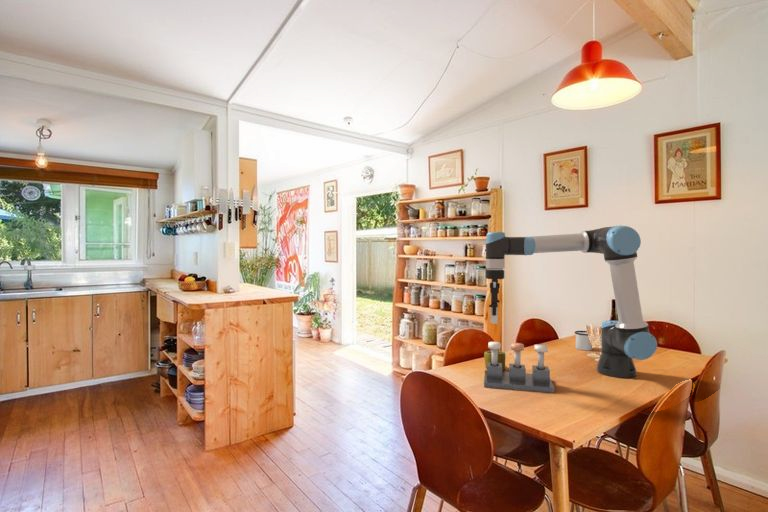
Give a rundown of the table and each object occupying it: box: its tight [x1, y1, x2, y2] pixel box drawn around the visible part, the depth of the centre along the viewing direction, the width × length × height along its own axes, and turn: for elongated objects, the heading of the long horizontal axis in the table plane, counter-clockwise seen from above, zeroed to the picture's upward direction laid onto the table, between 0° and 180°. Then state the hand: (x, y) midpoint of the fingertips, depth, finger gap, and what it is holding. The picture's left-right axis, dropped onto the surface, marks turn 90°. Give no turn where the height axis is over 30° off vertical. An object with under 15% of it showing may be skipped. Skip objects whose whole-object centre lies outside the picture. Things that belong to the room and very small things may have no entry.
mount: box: [483, 362, 555, 394], centre depth 165 cm, size 26×16×7 cm, turn 75°
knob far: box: [487, 341, 502, 366], centre depth 167 cm, size 5×5×10 cm
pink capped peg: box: [510, 342, 525, 368], centre depth 165 cm, size 5×5×10 cm
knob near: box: [533, 343, 549, 369], centre depth 163 cm, size 5×5×10 cm
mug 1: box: [483, 349, 506, 372], centre depth 185 cm, size 12×10×10 cm
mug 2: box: [574, 330, 593, 352], centre depth 221 cm, size 12×10×9 cm
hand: (494, 320), depth 168 cm, fingers open, 13 cm apart
